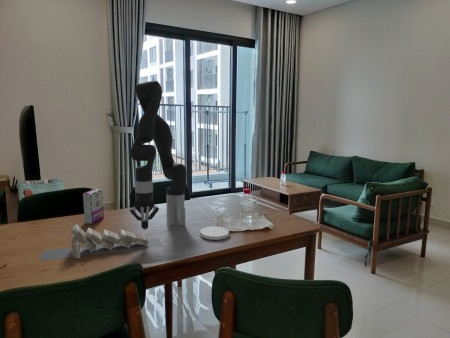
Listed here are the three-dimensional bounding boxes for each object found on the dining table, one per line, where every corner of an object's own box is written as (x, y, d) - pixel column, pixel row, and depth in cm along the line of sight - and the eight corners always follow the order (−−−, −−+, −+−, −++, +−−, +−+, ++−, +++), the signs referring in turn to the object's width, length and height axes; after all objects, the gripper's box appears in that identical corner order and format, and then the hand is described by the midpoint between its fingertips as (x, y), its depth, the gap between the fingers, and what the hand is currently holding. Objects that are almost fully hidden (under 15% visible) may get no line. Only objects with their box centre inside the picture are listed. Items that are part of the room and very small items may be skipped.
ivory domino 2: (113, 240, 147) (88, 227, 143) (113, 245, 142) (88, 232, 137) (110, 245, 147) (85, 232, 143) (110, 250, 142) (84, 237, 137)
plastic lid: (206, 243, 155) (207, 238, 155) (195, 233, 168) (196, 228, 167) (233, 239, 161) (233, 234, 161) (221, 229, 174) (221, 225, 173)
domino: (78, 233, 143) (78, 243, 132) (80, 246, 144) (80, 257, 133) (72, 234, 142) (71, 244, 131) (74, 247, 143) (73, 259, 132)
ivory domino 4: (146, 236, 153) (120, 229, 148) (148, 241, 147) (122, 234, 142) (144, 241, 153) (118, 234, 148) (146, 246, 147) (119, 239, 142)
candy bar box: (95, 217, 188) (94, 188, 185) (104, 218, 187) (103, 189, 184) (83, 223, 177) (82, 193, 174) (92, 224, 176) (91, 193, 173)
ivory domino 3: (130, 238, 150) (104, 229, 145) (131, 243, 144) (104, 234, 140) (127, 243, 150) (101, 234, 145) (129, 248, 144) (102, 239, 140)
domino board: (158, 240, 157) (158, 237, 157) (162, 248, 148) (162, 245, 148) (42, 253, 140) (42, 250, 140) (39, 263, 131) (39, 260, 130)
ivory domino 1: (95, 243, 145) (76, 223, 141) (96, 248, 139) (76, 228, 135) (91, 247, 144) (71, 227, 140) (91, 252, 139) (71, 232, 135)
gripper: (158, 187, 151) (158, 224, 154) (127, 189, 147) (128, 227, 150) (161, 191, 145) (161, 230, 147) (129, 193, 140) (130, 233, 143)
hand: (144, 228), depth 149 cm, fingers closed
